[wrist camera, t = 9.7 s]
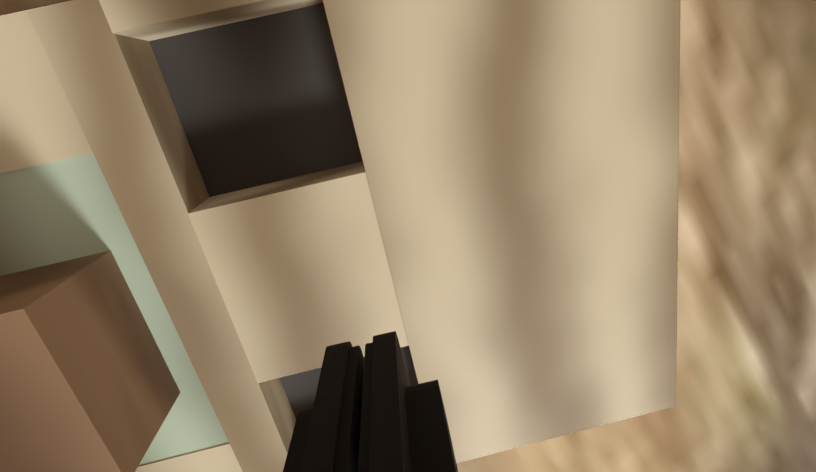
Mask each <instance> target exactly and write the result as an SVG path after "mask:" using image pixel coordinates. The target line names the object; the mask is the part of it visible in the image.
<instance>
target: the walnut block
mask: <svg viewBox="0 0 816 472" xmlns="http://www.w3.org/2000/svg"><path fill="white" fill-rule="evenodd" d="M179 394H180V390H179V388H178V386H177V384H176V382H175V380H174V378H173V376H172V374H171V372H170V370H169V368H168V366H167V364H166V362H165V360H164V358H163V356H162V354H161V352H160V350H159V348H158V346H157V344H156V342H155V339H154V337H153V335H152V333H151V331H150V329H149V327H148V325H147V323H146V321H145V319H144V317H143V315H142V313H141V311H140V309H139V307H138V305H137V303H136V301H135V299H134V297H133V295H132V293H131V291H130V289H129V287H128V285H127V283H126V281H125V279H124V276H123V274H122V272H121V270H120V268H119V266H118V264H117V262H116V260H115V258H114V256H113V254H112V252H111V250H110V251H106V252H101V253H97V254H93V255H89V256H84V257H80V258H76V259H71V260H67V261H63V262H59V263H54V264H50V265H46V266H41V267H37V268H33V269H29V270H24V271H20V272H16V273H11V274H7V275H3V276H0V472H135V471H136V469H137V467H138V466H139V464H140V462H141V460H142V459H143V457H144V455H145V453H146V452H147V450H148V448H149V446H150V445H151V443H152V441H153V439H154V438H155V436H156V434H157V432H158V431H159V429H160V427H161V425H162V424H163V422H164V420H165V418H166V417H167V415H168V413H169V412H170V410H171V408H172V406H173V405H174V403H175V401H176V399H177V398H178V396H179Z"/></svg>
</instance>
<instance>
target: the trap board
mask: <svg viewBox="0 0 816 472" xmlns="http://www.w3.org/2000/svg"><path fill="white" fill-rule="evenodd" d="M679 79H680V0H71V1H66V2H62V3H57V4H52V5H48V6H43V7H38V8H34V9H29V10H24V11H20V12H15V13H10V14H6V15H1V16H0V276H3V275H7V274H11V273H16V272H20V271H24V270H29V269H33V268H37V267H41V266H46V265H50V264H54V263H59V262H63V261H67V260H71V259H76V258H80V257H84V256H89V255H93V254H97V253H101V252H106V251H110V250H111V252H112V254H113V256H114V258H115V260H116V262H117V264H118V266H119V268H120V270H121V272H122V274H123V276H124V279H125V281H126V283H127V285H128V287H129V289H130V291H131V293H132V295H133V297H134V299H135V301H136V303H137V305H138V307H139V309H140V311H141V313H142V315H143V317H144V319H145V321H146V323H147V325H148V327H149V329H150V331H151V333H152V335H153V337H154V339H155V342H156V344H157V346H158V348H159V350H160V352H161V354H162V356H163V358H164V360H165V362H166V364H167V366H168V368H169V370H170V372H171V374H172V376H173V378H174V380H175V382H176V384H177V386H178V388H179V390H180V394H179V396H178V398H177V399H176V401H175V403H174V405H173V406H172V408H171V410H170V412H169V413H168V415H167V417H166V418H165V420H164V422H163V424H162V425H161V427H160V429H159V431H158V432H157V434H156V436H155V438H154V439H153V441H152V443H151V445H150V446H149V448H148V450H147V452H146V453H145V455H144V457H143V459H142V460H141V462H140V464H139V466H138V467H137V469H136V471H135V472H283V469H284V465H285V461H286V457H287V453H288V449H289V445H290V442H291V438H292V434H293V430H294V426H295V422H296V418H297V415H298V413H299V411H300V410H302V409H306V408H311V407H313V405H314V401H315V396H316V391H317V387H318V382H319V377H320V373H321V368H322V363H323V358H324V354H325V349H326V347H327V346H330V345H334V344H339V343H344V342H348V341H350V342H351V344H352V347H354V346H358V345H359V346H360V348H361V350H362V354H363V357H364V358H365V344H367V343H372V342H373V336H375V335H380V334H384V333H389V332H393V331H396V333H397V337H398V340H399V344H400V348H401V352H402V356H403V360H404V364H405V368H406V371H407V375H408V379H409V383H410V386H411V385H415V384H420V383H424V382H429V381H434V380H438V382H439V386H440V391H441V395H442V399H443V404H444V408H445V413H446V417H447V422H448V426H449V431H450V436H451V440H452V445H453V450H454V455H455V460H456V463H460V462H464V461H467V460H471V459H475V458H479V457H483V456H486V455H490V454H494V453H498V452H502V451H506V450H509V449H513V448H517V447H521V446H525V445H529V444H532V443H536V442H540V441H544V440H548V439H552V438H555V437H559V436H563V435H567V434H571V433H575V432H578V431H582V430H586V429H590V428H594V427H598V426H601V425H605V424H609V423H613V422H617V421H620V420H624V419H628V418H632V417H636V416H640V415H643V414H647V413H651V412H655V411H659V410H663V409H666V408H670V407H674V406H676V349H677V259H678V169H679Z"/></svg>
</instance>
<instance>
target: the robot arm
mask: <svg viewBox="0 0 816 472" xmlns="http://www.w3.org/2000/svg"><path fill="white" fill-rule="evenodd" d="M283 472H458V469H457V465H456V460H455V455H454V450H453V445H452V440H451V436H450V431H449V426H448V422H447V417H446V413H445V408H444V404H443V399H442V395H441V391H440V386H439V382H438V380H434V381H429V382H424V383H420V384H415V385H411V386H410V383H409V379H408V375H407V371H406V368H405V364H404V360H403V356H402V352H401V348H400V344H399V340H398V337H397V333H396V331H393V332H389V333H384V334H380V335H375V336H373V342H372V343H367V344H365V358H364V357H363V354H362V350H361V348H360V346H359V345H358V346H354V347H352V344H351V342H350V341H348V342H344V343H339V344H334V345H330V346H327V347H326V349H325V354H324V358H323V363H322V368H321V373H320V377H319V382H318V387H317V391H316V396H315V401H314V405H313V407H311V408H306V409H302V410H300V411H299V413H298V415H297V418H296V422H295V426H294V430H293V434H292V438H291V442H290V445H289V449H288V453H287V457H286V461H285V465H284V469H283Z"/></svg>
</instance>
